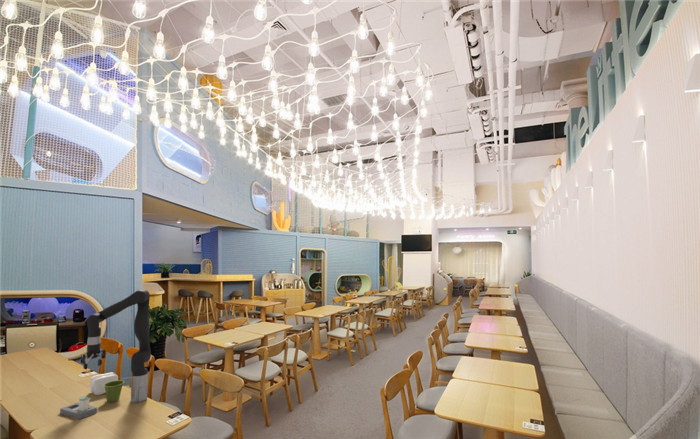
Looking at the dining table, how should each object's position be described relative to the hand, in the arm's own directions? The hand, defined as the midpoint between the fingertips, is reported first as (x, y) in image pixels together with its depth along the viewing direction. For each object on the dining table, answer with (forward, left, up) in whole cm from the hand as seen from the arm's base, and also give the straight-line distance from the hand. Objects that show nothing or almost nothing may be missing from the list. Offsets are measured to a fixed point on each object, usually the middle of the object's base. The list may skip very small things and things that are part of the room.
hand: (92, 367), depth 234 cm
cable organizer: (+13, -16, -24) cm, 31 cm away
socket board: (-8, +12, -24) cm, 28 cm away
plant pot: (-9, -9, -24) cm, 27 cm away
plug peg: (-13, +12, -24) cm, 30 cm away
